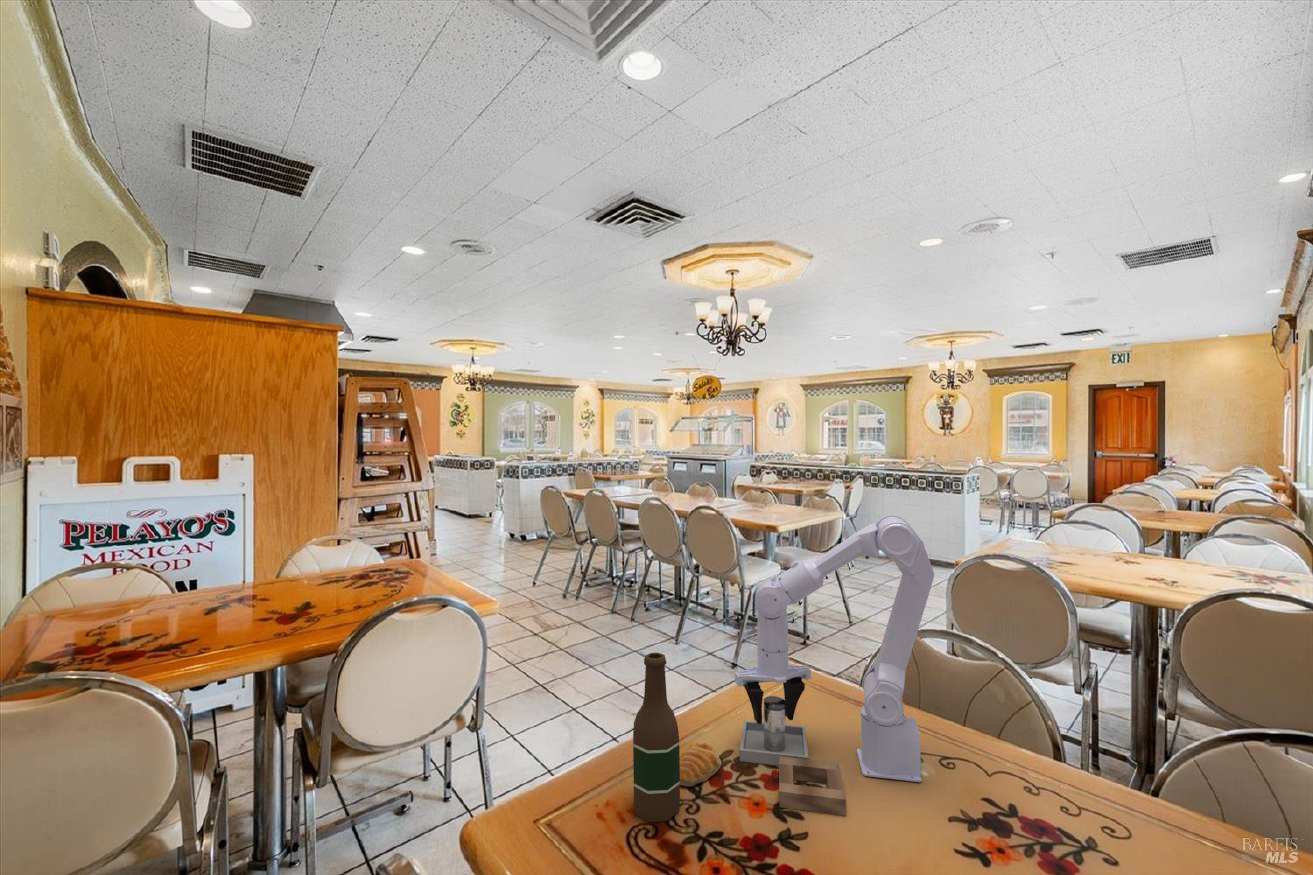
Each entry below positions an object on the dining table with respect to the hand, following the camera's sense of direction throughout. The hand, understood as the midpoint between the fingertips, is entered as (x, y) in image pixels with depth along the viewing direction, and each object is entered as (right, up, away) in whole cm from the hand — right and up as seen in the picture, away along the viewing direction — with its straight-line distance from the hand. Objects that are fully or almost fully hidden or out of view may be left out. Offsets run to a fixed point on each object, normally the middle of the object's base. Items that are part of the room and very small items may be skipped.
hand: (773, 719), depth 104 cm
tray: (0, -5, 0) cm, 5 cm away
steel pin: (0, -5, 0) cm, 5 cm away
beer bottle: (-22, -6, -17) cm, 28 cm away
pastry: (-15, -6, -7) cm, 18 cm away
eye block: (+3, -5, -13) cm, 14 cm away
